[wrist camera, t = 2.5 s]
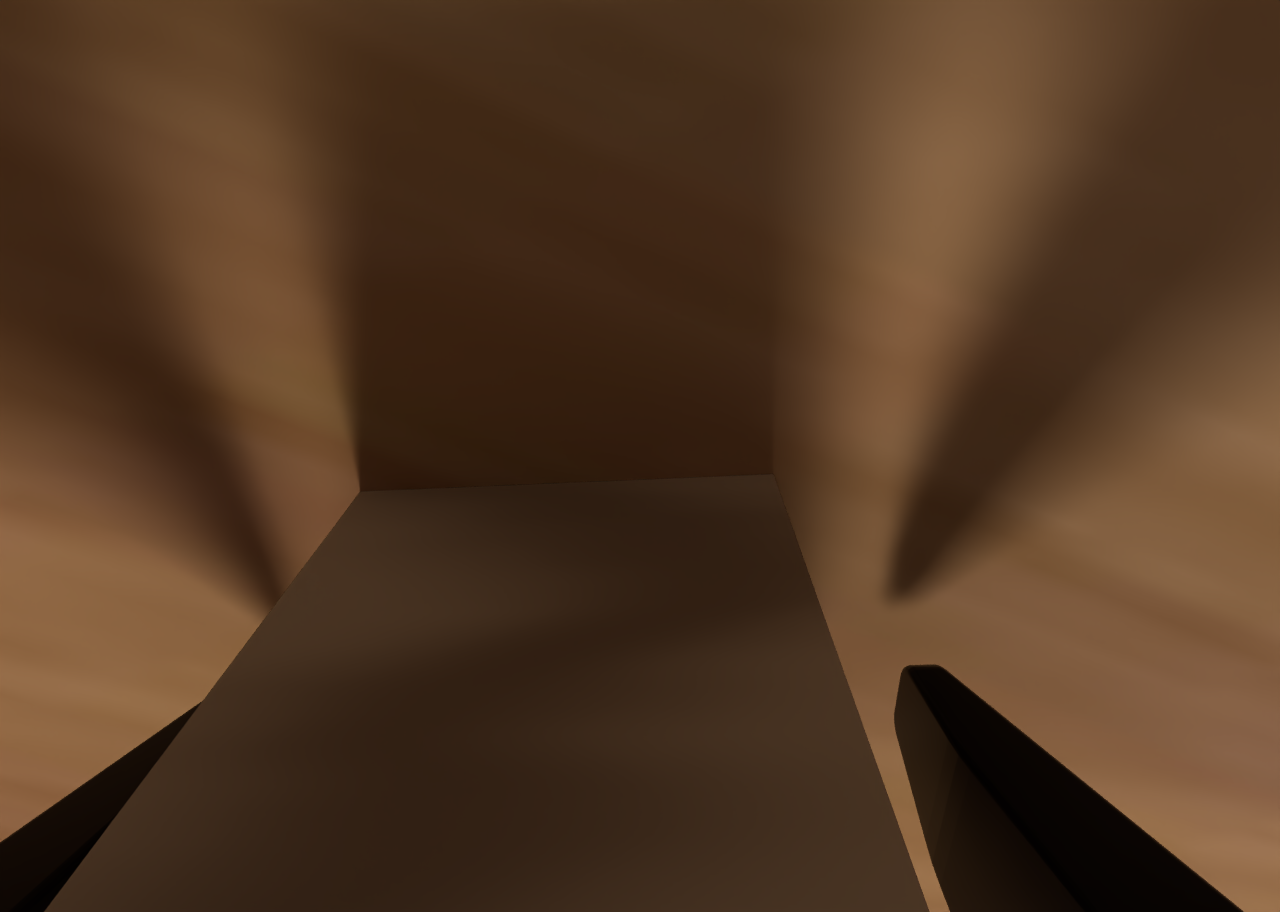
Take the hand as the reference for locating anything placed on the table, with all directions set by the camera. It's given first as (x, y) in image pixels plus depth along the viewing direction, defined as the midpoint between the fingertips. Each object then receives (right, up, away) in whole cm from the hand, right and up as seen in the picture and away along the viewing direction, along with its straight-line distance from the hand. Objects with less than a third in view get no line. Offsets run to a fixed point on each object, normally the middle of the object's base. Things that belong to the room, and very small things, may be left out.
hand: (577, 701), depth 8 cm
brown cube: (0, +1, +1) cm, 1 cm away
